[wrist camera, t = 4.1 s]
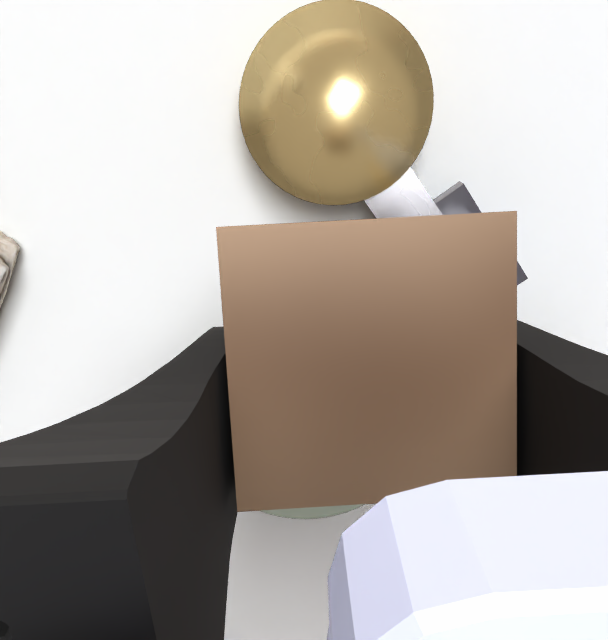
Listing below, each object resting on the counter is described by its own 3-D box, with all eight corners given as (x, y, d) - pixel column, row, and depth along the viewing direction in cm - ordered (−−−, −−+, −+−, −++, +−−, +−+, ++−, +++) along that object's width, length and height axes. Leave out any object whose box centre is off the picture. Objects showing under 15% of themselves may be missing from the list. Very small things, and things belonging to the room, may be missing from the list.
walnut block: (442, 410, 14) (516, 495, 9) (255, 421, 13) (237, 511, 9) (439, 221, 13) (516, 211, 8) (242, 231, 13) (215, 227, 8)
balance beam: (678, 458, 20) (735, 507, 17) (530, 537, 22) (558, 596, 19) (358, -30, 18) (359, -76, 15) (211, 92, 19) (183, 74, 16)
